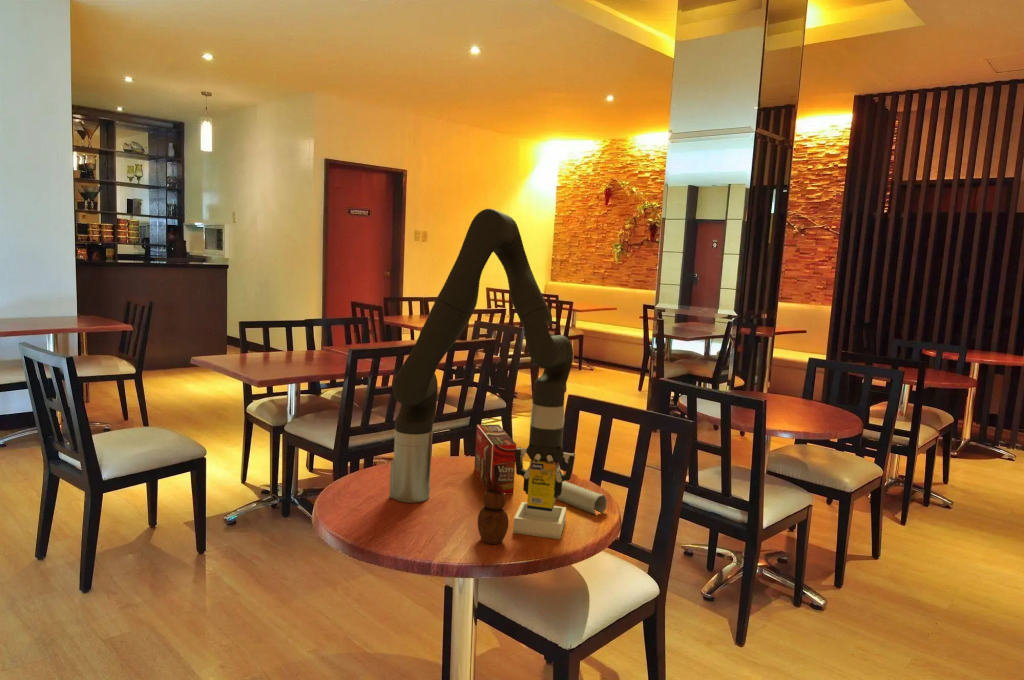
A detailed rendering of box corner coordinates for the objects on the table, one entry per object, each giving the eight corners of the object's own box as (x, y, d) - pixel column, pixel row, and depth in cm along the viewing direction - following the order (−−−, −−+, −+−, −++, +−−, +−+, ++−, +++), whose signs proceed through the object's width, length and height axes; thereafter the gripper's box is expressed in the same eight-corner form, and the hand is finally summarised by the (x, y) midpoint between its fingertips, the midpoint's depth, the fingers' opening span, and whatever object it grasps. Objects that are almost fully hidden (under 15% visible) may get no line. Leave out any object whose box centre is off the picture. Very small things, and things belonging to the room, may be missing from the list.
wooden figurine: (472, 537, 151) (475, 471, 150) (494, 532, 155) (498, 467, 153) (489, 549, 146) (493, 480, 144) (511, 544, 149) (515, 476, 147)
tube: (519, 474, 185) (591, 501, 167) (533, 465, 188) (605, 490, 170) (523, 491, 187) (594, 520, 169) (536, 481, 190) (608, 509, 172)
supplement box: (552, 512, 155) (555, 465, 154) (526, 508, 157) (529, 462, 155) (556, 503, 161) (559, 457, 160) (530, 499, 162) (533, 454, 161)
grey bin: (512, 533, 155) (513, 518, 155) (521, 515, 166) (522, 501, 165) (560, 539, 153) (561, 524, 153) (565, 521, 164) (566, 507, 163)
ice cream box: (474, 470, 198) (476, 424, 196) (496, 469, 200) (498, 424, 198) (489, 494, 179) (492, 444, 177) (513, 494, 180) (516, 444, 179)
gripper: (512, 424, 154) (508, 496, 156) (577, 430, 152) (572, 504, 154) (518, 416, 161) (514, 486, 163) (580, 422, 159) (575, 493, 161)
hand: (542, 494), depth 159 cm, fingers closed on supplement box, 6 cm apart
